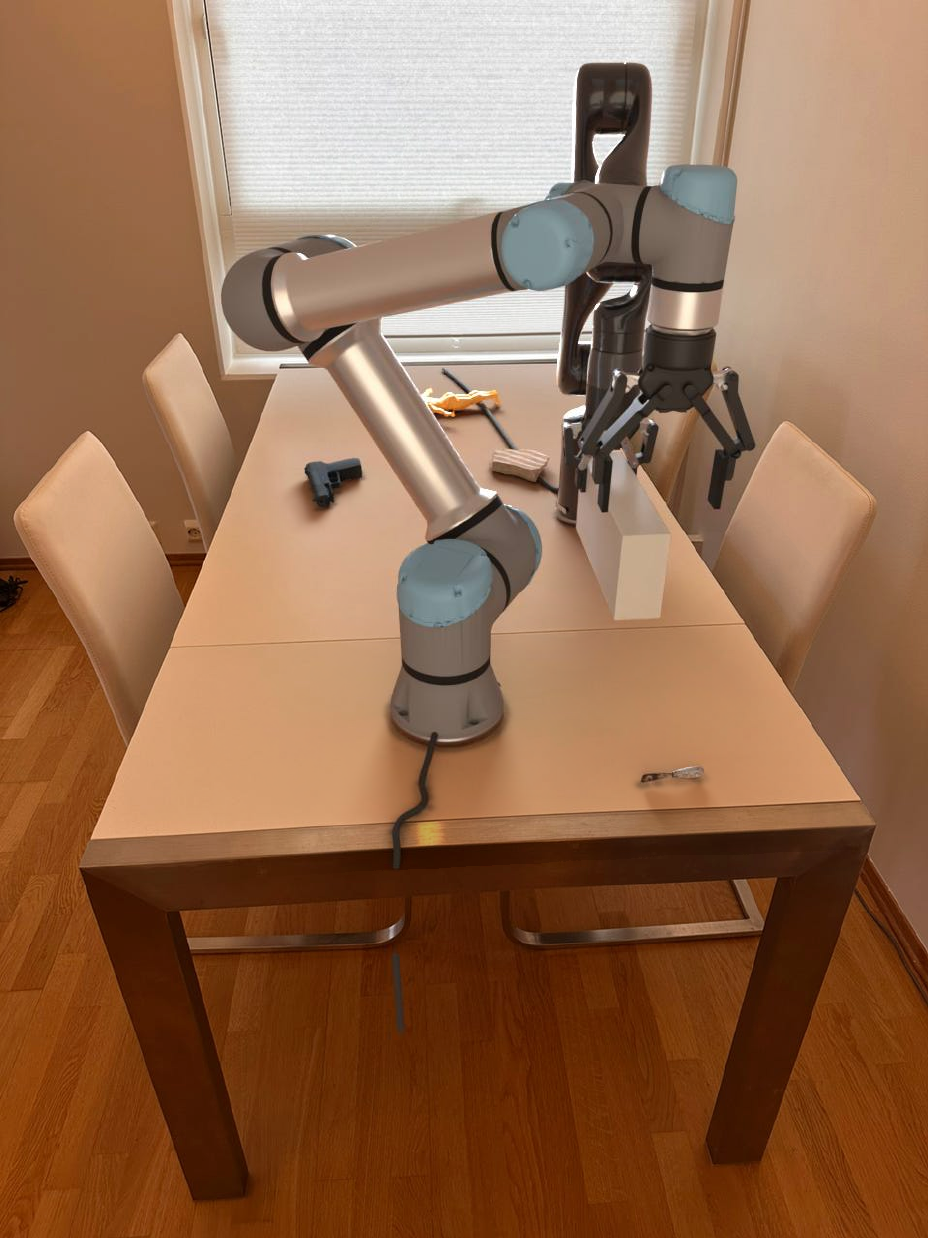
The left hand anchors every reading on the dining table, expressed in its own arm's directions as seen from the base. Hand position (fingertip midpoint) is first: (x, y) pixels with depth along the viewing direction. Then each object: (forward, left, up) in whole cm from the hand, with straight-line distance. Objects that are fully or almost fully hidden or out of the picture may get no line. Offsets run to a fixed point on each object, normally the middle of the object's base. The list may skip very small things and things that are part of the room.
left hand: (658, 506), depth 107 cm
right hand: (+24, +8, -9) cm, 27 cm away
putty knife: (-15, -5, -29) cm, 34 cm away
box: (+15, +5, -17) cm, 23 cm away
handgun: (+60, +64, -29) cm, 93 cm away
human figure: (+113, +52, -29) cm, 128 cm away
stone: (+77, +28, -29) cm, 88 cm away
